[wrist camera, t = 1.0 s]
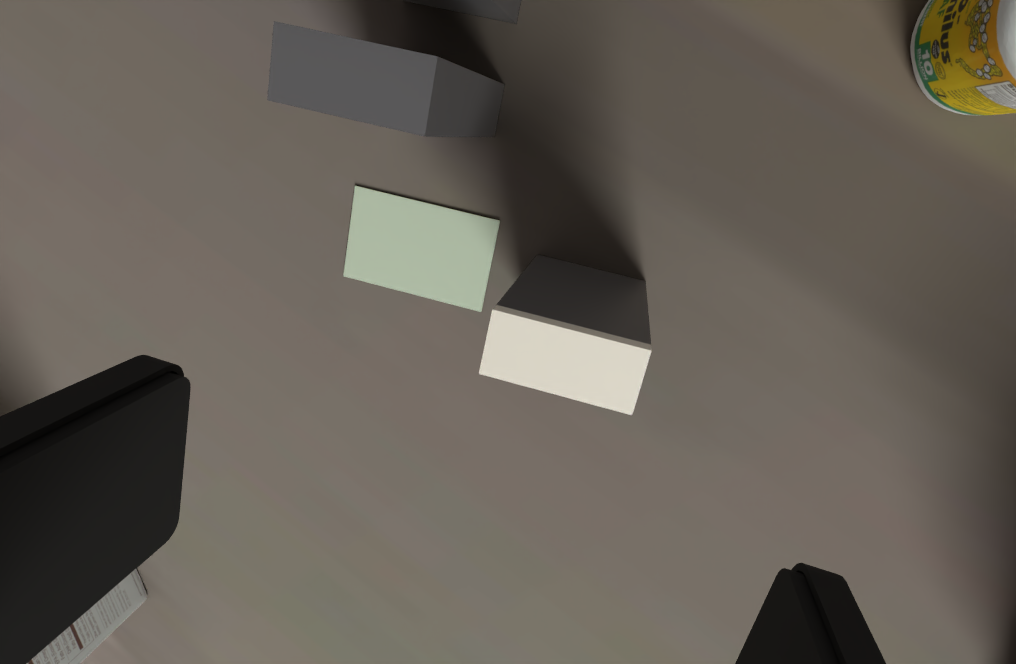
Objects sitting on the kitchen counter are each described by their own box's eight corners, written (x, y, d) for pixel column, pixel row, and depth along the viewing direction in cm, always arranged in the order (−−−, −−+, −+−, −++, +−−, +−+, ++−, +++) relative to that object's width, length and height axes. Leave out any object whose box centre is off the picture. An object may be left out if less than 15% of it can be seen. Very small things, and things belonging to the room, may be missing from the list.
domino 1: (504, 84, 27) (437, 56, 18) (494, 137, 28) (424, 136, 19) (394, 60, 28) (273, 21, 19) (387, 112, 29) (267, 100, 19)
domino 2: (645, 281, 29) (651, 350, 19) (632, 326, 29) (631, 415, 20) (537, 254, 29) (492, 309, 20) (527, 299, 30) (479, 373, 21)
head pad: (500, 220, 29) (499, 221, 29) (481, 311, 31) (481, 311, 30) (355, 185, 30) (355, 186, 30) (344, 275, 31) (343, 276, 31)
